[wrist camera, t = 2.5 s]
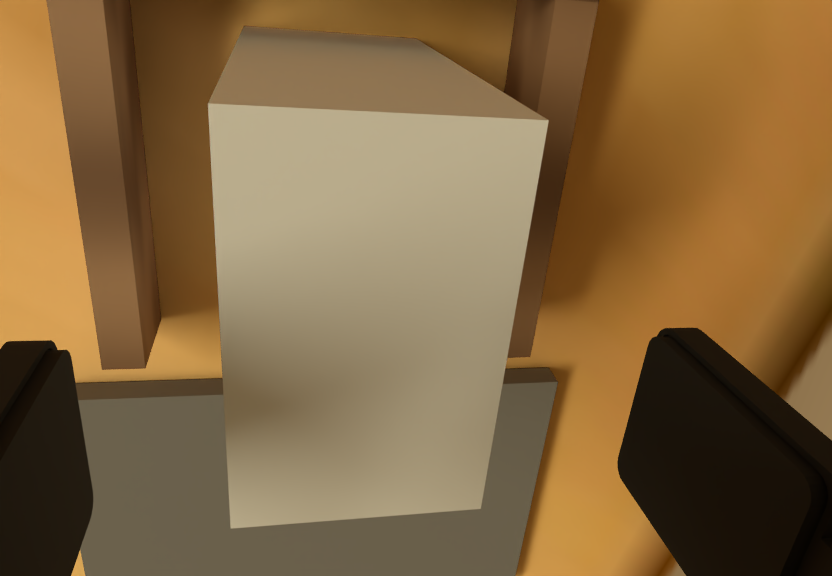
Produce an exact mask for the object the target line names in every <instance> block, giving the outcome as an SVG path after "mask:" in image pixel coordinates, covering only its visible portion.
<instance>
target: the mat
mask: <svg viewBox="0 0 832 576" xmlns="http://www.w3.org/2000/svg"><path fill="white" fill-rule="evenodd" d="M75 384H76V390H77V396H78V402H79V409H80V415H81V421H82V427H83V433H84V439H85V445H86V451H87V458H88V464H89V470H90V476H91V482H92V488H93V510H92V515H91V519H90V522H89V525H88V528H87V531H86V533H85V536H84V539H83V542H82V545H81V548H80V550H81V555H82V560H83V565H84V571H85V576H515V575H516V570H517V566H518V561H519V557H520V552H521V548H522V543H523V539H524V534H525V530H526V525H527V520H528V516H529V511H530V507H531V502H532V498H533V493H534V489H535V484H536V480H537V475H538V470H539V466H540V461H541V457H542V452H543V448H544V443H545V439H546V434H547V430H548V425H549V420H550V416H551V411H552V407H553V402H554V398H555V393H556V389H557V384H558V381H557V380H556V378H555V377H554V375H553V374H552V372H551V371H550V369H549V368H522V369H505V373H504V379H503V385H502V390H501V396H500V402H499V407H498V413H497V419H496V424H495V430H494V436H493V442H492V447H491V453H490V459H489V464H488V470H487V476H486V482H485V487H484V493H483V499H482V504H481V509H473V510H460V511H447V512H435V513H422V514H409V515H397V516H384V517H371V518H359V519H346V520H334V521H321V522H308V523H296V524H283V525H270V526H258V527H245V528H232V529H231V526H230V507H229V489H228V470H227V451H226V433H225V414H224V395H223V378H222V379H191V380H161V381H131V382H101V383H75Z"/></svg>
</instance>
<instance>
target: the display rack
mask: <svg viewBox="0 0 832 576" xmlns="http://www.w3.org/2000/svg"><path fill="white" fill-rule="evenodd" d="M598 3H599V0H517V7H516V14H515V21H514V28H513V35H512V42H511V49H510V56H509V63H508V70H507V77H506V84H505V91H504V93H505V94H507V95H508V96H510V97H512V98H513V99H515V100H516V101H518V102H520V103H521V104H523V105H525V106H526V107H528V108H529V109H531V110H533V111H534V112H536V113H538V114H539V115H541V116H542V117H544V118H546V119H547V120H549V122H548V128H547V133H546V139H545V145H544V150H543V156H542V162H541V168H540V173H539V179H538V185H537V190H536V196H535V202H534V208H533V213H532V219H531V225H530V230H529V236H528V242H527V247H526V253H525V259H524V265H523V270H522V276H521V282H520V287H519V293H518V299H517V305H516V310H515V316H514V322H513V327H512V333H511V339H510V345H509V350H508V356H507V358H513V357H530V355H531V350H532V345H533V339H534V334H535V329H536V324H537V319H538V314H539V308H540V303H541V298H542V293H543V288H544V283H545V277H546V272H547V267H548V262H549V257H550V252H551V246H552V241H553V236H554V231H555V226H556V220H557V215H558V210H559V205H560V200H561V195H562V189H563V184H564V179H565V174H566V169H567V164H568V158H569V153H570V148H571V143H572V138H573V133H574V127H575V122H576V117H577V112H578V107H579V102H580V96H581V91H582V86H583V81H584V76H585V71H586V65H587V60H588V55H589V50H590V45H591V39H592V34H593V29H594V24H595V19H596V14H597V8H598ZM47 7H48V13H49V20H50V26H51V33H52V40H53V46H54V53H55V60H56V66H57V73H58V80H59V86H60V93H61V100H62V106H63V113H64V119H65V126H66V133H67V139H68V146H69V153H70V159H71V166H72V173H73V179H74V186H75V193H76V199H77V206H78V212H79V219H80V226H81V232H82V239H83V246H84V252H85V259H86V266H87V272H88V279H89V286H90V292H91V299H92V305H93V312H94V319H95V325H96V332H97V339H98V345H99V352H100V359H101V365H102V370H106V369H140V368H146V365H147V362H148V359H149V355H150V352H151V349H152V346H153V343H154V340H155V337H156V334H157V330H158V327H159V324H160V321H161V313H160V303H159V292H158V282H157V272H156V262H155V252H154V242H153V232H152V222H151V211H150V201H149V191H148V181H147V171H146V161H145V151H144V141H143V131H142V120H141V110H140V100H139V90H138V80H137V70H136V60H135V50H134V39H133V29H132V19H131V9H130V0H47Z"/></svg>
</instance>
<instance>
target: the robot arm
mask: <svg viewBox="0 0 832 576" xmlns="http://www.w3.org/2000/svg"><path fill="white" fill-rule="evenodd" d="M618 471H619V475H620V478H621V479H622V481H623V483H624V484H625V486H626V487H627V489H628V490H629V492H630V493H631V495H632V496H633V498H634V499H635V501H636V502H637V504H638V505H639V506H640V508H641V509H642V511H643V512H644V514H645V515H646V517H647V518H648V520H649V521H650V523H651V524H652V526H653V527H654V529H655V530H656V532H657V533H658V535H659V536H660V538H661V539H662V540H663V542H664V543H665V545H666V546H667V548H668V549H669V551H670V552H671V554H672V555H673V557H674V558H675V560H676V561H677V563H678V564H679V566H680V567H681V569H682V570H683V572H684V573H685V574H686V576H832V441H831V440H830V439H829V438H828V437H827V436H826V435H824V434H823V433H822V432H820V431H819V430H818V429H817V428H816V427H815V426H814V425H812V424H811V423H810V422H809V421H808V420H807V419H805V418H804V417H803V416H802V415H801V414H800V413H798V412H797V411H796V410H795V409H794V408H792V407H791V406H790V405H789V404H788V403H787V402H785V401H784V400H783V399H782V398H781V397H779V396H778V395H777V394H776V393H775V392H774V391H772V390H771V389H770V388H769V387H768V386H766V385H765V384H764V383H763V382H762V381H760V380H759V379H758V378H757V377H756V376H755V375H753V374H752V373H751V372H750V371H749V370H747V369H746V368H745V367H744V366H743V365H742V364H740V363H739V362H738V361H737V360H736V359H734V358H733V357H732V356H731V355H730V354H729V353H727V352H726V351H725V350H724V349H723V348H721V347H720V346H719V345H718V344H717V343H716V342H714V341H713V340H712V339H711V338H710V337H708V336H707V335H706V334H705V333H704V332H702V331H701V330H699V329H698V328H665V329H663V330H661V331H660V332H659V334H658V335H657V337H654V338H652V339H651V340H650V342H649V345H648V348H647V352H646V355H645V359H644V363H643V367H642V370H641V374H640V378H639V382H638V385H637V389H636V393H635V397H634V400H633V404H632V408H631V412H630V415H629V419H628V423H627V427H626V430H625V434H624V438H623V442H622V445H621V449H620V453H619V457H618ZM92 510H93V488H92V482H91V476H90V470H89V464H88V458H87V451H86V445H85V439H84V433H83V427H82V421H81V415H80V409H79V402H78V396H77V390H76V384H75V378H74V372H73V366H72V360H71V356H70V353H69V352H68V351H67V350H57V347H56V345H55V343H54V342H53V341H9V342H6V343H5V344H4V345H3V346H2V348H1V349H0V576H71V574H72V571H73V568H74V565H75V562H76V559H77V557H78V554H79V551H80V548H81V545H82V542H83V539H84V536H85V533H86V531H87V528H88V525H89V522H90V519H91V515H92Z"/></svg>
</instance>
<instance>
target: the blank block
mask: <svg viewBox="0 0 832 576" xmlns="http://www.w3.org/2000/svg"><path fill="white" fill-rule="evenodd" d="M208 115H209V134H210V153H211V171H212V190H213V209H214V227H215V246H216V265H217V283H218V302H219V321H220V339H221V358H222V377H223V395H224V414H225V433H226V451H227V470H228V489H229V507H230V526H231V529H232V528H245V527H258V526H270V525H283V524H296V523H308V522H321V521H334V520H346V519H359V518H371V517H384V516H397V515H409V514H422V513H435V512H447V511H460V510H473V509H481V504H482V499H483V493H484V487H485V482H486V476H487V470H488V464H489V459H490V453H491V447H492V442H493V436H494V430H495V424H496V419H497V413H498V407H499V402H500V396H501V390H502V385H503V379H504V373H505V367H506V362H507V356H508V350H509V345H510V339H511V333H512V327H513V322H514V316H515V310H516V305H517V299H518V293H519V287H520V282H521V276H522V270H523V265H524V259H525V253H526V247H527V242H528V236H529V230H530V225H531V219H532V213H533V208H534V202H535V196H536V190H537V185H538V179H539V173H540V168H541V162H542V156H543V150H544V145H545V139H546V133H547V128H548V122H549V120H547V119H546V118H544V117H542V116H541V115H539V114H538V113H536V112H534V111H533V110H531V109H529V108H528V107H526V106H525V105H523V104H521V103H520V102H518V101H516V100H515V99H513V98H512V97H510V96H508V95H507V94H505V93H503V92H502V91H500V90H499V89H497V88H495V87H494V86H492V85H490V84H489V83H487V82H486V81H484V80H482V79H481V78H479V77H478V76H476V75H474V74H473V73H471V72H469V71H468V70H466V69H465V68H463V67H461V66H460V65H458V64H456V63H455V62H453V61H452V60H450V59H448V58H447V57H445V56H443V55H442V54H440V53H439V52H437V51H435V50H434V49H432V48H430V47H429V46H427V45H426V44H424V43H422V42H421V41H419V40H417V39H416V38H402V37H389V36H375V35H361V34H348V33H334V32H321V31H307V30H294V29H280V28H267V27H253V26H244V27H243V29H242V31H241V34H240V36H239V38H238V40H237V42H236V44H235V46H234V49H233V51H232V53H231V55H230V57H229V59H228V61H227V64H226V66H225V68H224V70H223V72H222V74H221V76H220V79H219V81H218V83H217V85H216V87H215V89H214V91H213V94H212V96H211V98H210V100H209V102H208Z"/></svg>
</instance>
